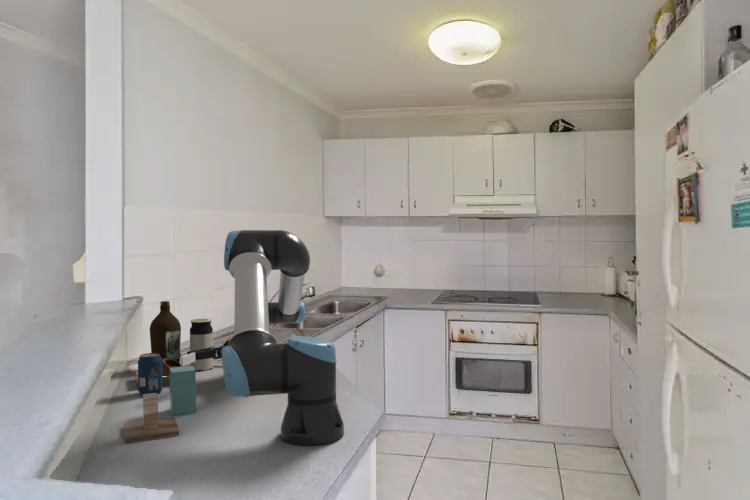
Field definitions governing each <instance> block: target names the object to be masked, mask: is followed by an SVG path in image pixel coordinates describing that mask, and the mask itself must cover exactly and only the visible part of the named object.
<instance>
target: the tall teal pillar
mask: <svg viewBox="0 0 750 500" xmlns="http://www.w3.org/2000/svg"><path fill="white" fill-rule="evenodd" d="M196 372H197V371H196V370H195V369H194V367H193V366H190V365H188V366H184V367H174V368H169V377H170V386H169V411H170V413H171V416H173V417H174V416H178V415H179V416H181V415H187V414H193V413H197V390H196V389H197V383H196V382H197V377H196Z"/></svg>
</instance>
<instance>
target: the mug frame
mask: <svg viewBox="0 0 750 500" xmlns="http://www.w3.org/2000/svg"><path fill="white" fill-rule="evenodd" d="M185 366H189V364H188V365H185ZM175 367H176V366H175ZM182 367H184V366H182ZM172 368H174V367H172ZM162 372H163V373H162V376H167V377H162V383H163V388H165V386H166V387H170V377H169V372H166V371H164V370H162ZM135 383H136V389H137V390H138V369H137V370H135Z"/></svg>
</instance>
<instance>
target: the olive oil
mask: <svg viewBox="0 0 750 500" xmlns="http://www.w3.org/2000/svg"><path fill="white" fill-rule="evenodd" d="M170 302H171V301H169V300H164V301H163V300H162V301H160V305H159V313H158V314H157V315H156V316H155V317H154V319H153V320H152V321H151V323H150V327H149V338H150V339H149V340H150V350H151V351H150V353H159V354H160V357H161V358H162V361H163V359H165V358H167V359H173V360H175V361H177V362H179V363H180V364H181V357H182V354H181V338H182V337H181V334H182V333H181V332H182V326H181V323H180V321H179V319H178V318H177V317H176V316H175V315H174V314H173V313H172V312H171V305H170ZM166 364H167V365H168V362H166ZM175 366H176V365H174V366H170V367H175Z"/></svg>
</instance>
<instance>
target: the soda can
mask: <svg viewBox="0 0 750 500" xmlns="http://www.w3.org/2000/svg"><path fill="white" fill-rule="evenodd" d="M137 370H138V393H139V394H140V396H143V394H151V393H157V395H160V394H161V392H162V391H163V388H164V387H163V383H162V358H161V357H160V354H159V353H151V352H149V353H142V354H140V355H139V358H138V361H137Z"/></svg>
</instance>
